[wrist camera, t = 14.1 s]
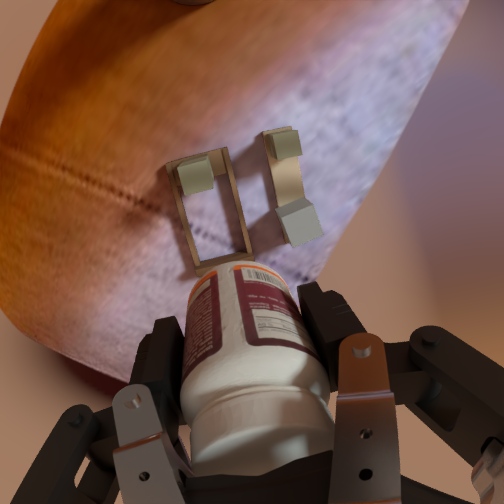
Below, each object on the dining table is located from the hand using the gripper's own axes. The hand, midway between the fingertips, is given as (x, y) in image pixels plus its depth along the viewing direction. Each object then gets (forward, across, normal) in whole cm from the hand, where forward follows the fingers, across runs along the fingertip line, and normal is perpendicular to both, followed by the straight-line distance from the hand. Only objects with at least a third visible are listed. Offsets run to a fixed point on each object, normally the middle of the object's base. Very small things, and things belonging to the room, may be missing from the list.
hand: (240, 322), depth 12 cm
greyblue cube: (+28, -8, +6) cm, 30 cm away
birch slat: (+29, -8, +2) cm, 30 cm away
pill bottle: (+3, 0, +1) cm, 3 cm away
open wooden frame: (+29, +2, +3) cm, 29 cm away
